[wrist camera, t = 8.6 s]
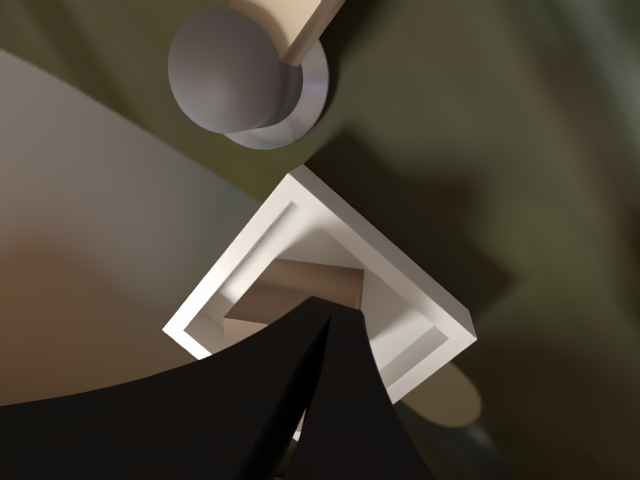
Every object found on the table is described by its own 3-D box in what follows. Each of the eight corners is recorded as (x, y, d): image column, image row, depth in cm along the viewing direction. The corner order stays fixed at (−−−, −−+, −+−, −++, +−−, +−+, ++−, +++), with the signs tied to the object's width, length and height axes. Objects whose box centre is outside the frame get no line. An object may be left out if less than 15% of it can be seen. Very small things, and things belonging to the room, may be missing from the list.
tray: (468, 310, 20) (477, 339, 17) (329, 423, 24) (320, 460, 21) (303, 163, 19) (288, 173, 17) (188, 305, 23) (162, 329, 20)
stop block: (357, 349, 21) (338, 439, 15) (273, 336, 22) (226, 417, 16) (364, 269, 19) (346, 336, 14) (274, 258, 20) (223, 317, 15)
